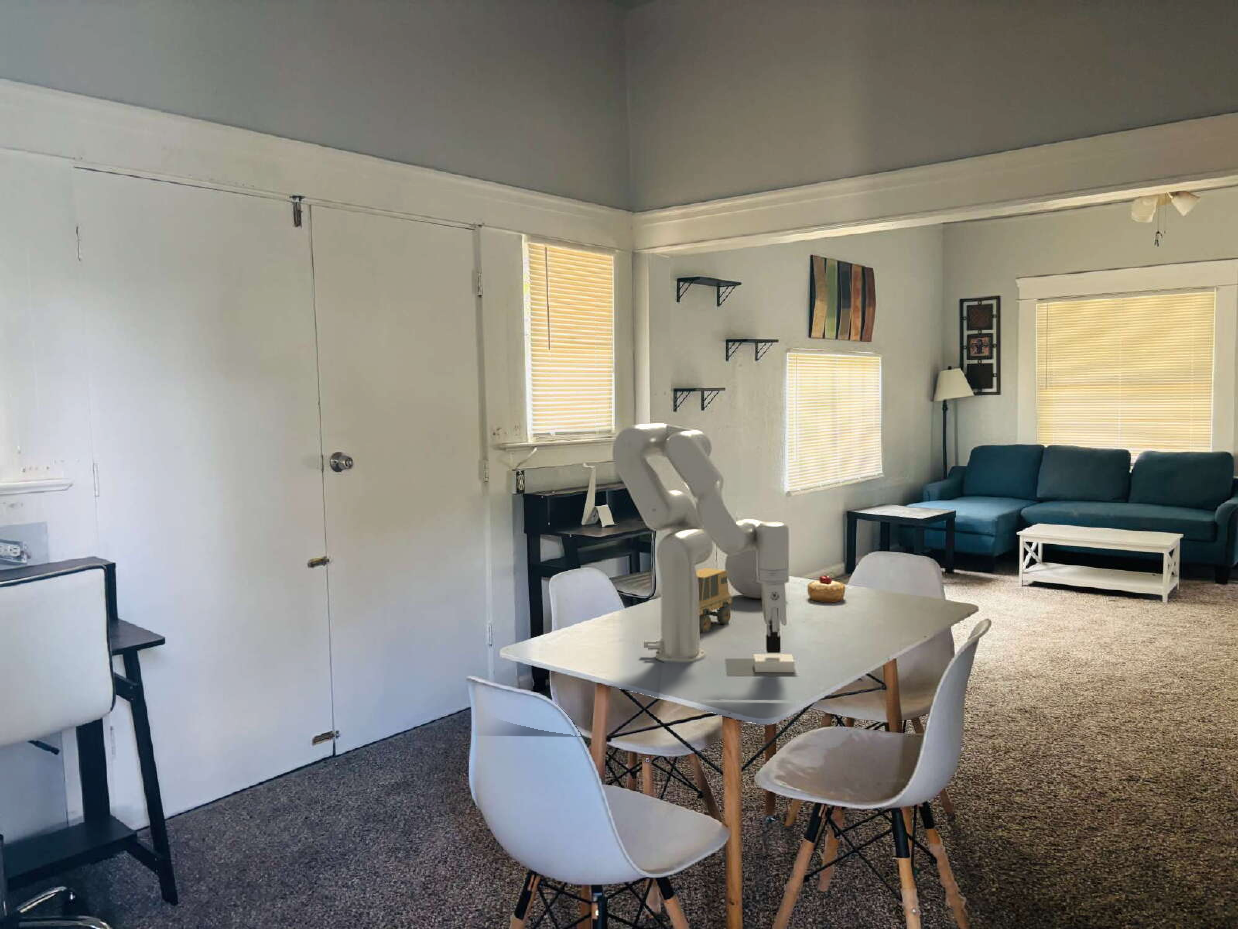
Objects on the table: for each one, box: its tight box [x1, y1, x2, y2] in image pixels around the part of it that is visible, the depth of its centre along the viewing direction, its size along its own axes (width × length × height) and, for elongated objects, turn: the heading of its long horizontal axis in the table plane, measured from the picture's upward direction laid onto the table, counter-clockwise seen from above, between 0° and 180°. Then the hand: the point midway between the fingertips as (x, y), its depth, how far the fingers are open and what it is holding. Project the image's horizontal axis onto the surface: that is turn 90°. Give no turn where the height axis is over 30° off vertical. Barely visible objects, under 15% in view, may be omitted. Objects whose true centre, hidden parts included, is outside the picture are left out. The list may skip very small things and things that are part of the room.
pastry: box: [806, 571, 846, 603], centre depth 293 cm, size 12×12×9 cm
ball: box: [724, 549, 762, 599], centre depth 297 cm, size 20×20×20 cm
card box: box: [753, 653, 796, 672], centre depth 219 cm, size 9×3×6 cm
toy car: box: [696, 567, 733, 633], centre depth 262 cm, size 10×19×15 cm, turn 144°
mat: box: [725, 658, 798, 678], centre depth 220 cm, size 16×14×1 cm
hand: (773, 651), depth 219 cm, fingers closed
